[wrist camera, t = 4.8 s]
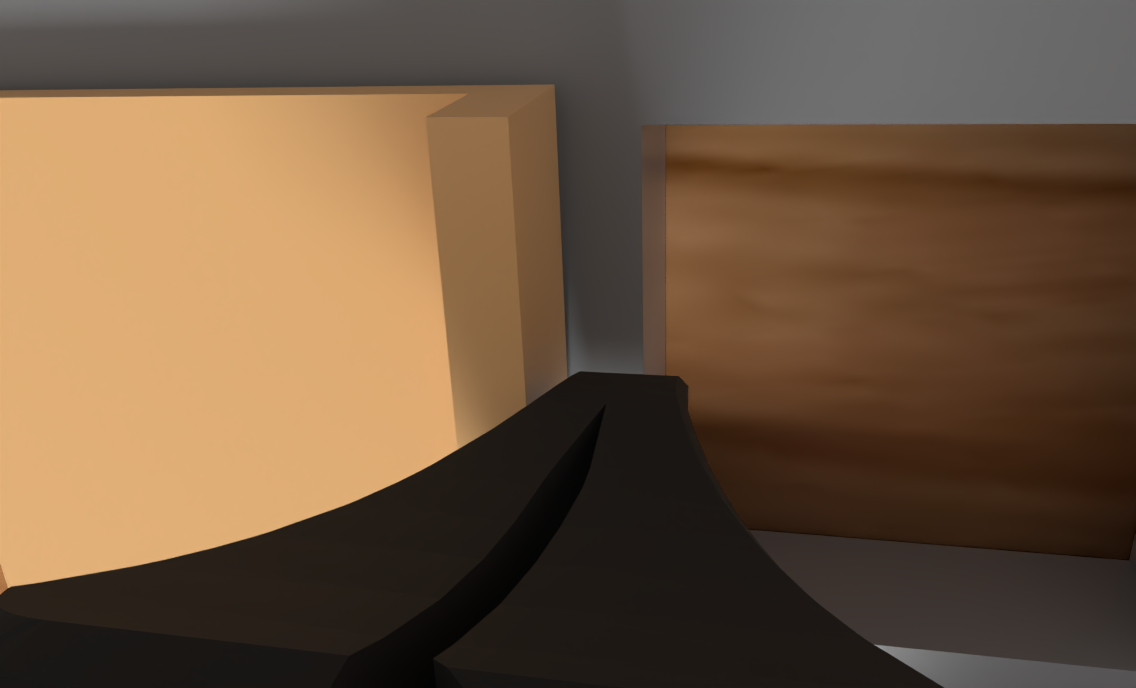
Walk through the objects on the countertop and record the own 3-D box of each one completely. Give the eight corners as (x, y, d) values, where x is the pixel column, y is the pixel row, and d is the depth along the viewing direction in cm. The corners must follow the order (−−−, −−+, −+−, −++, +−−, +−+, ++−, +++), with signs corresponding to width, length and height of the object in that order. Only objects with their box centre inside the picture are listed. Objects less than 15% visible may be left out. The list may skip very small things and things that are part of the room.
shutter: (554, 84, 11) (508, 117, 9) (579, 655, 14) (548, 765, 12) (-112, 91, 12) (-263, 120, 11) (45, 597, 16) (-51, 685, 14)
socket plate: (1538, -106, 10) (1743, -114, 8) (1282, 683, 15) (1371, 819, 13) (26, -41, 14) (-115, -36, 12) (174, 570, 19) (91, 659, 16)
